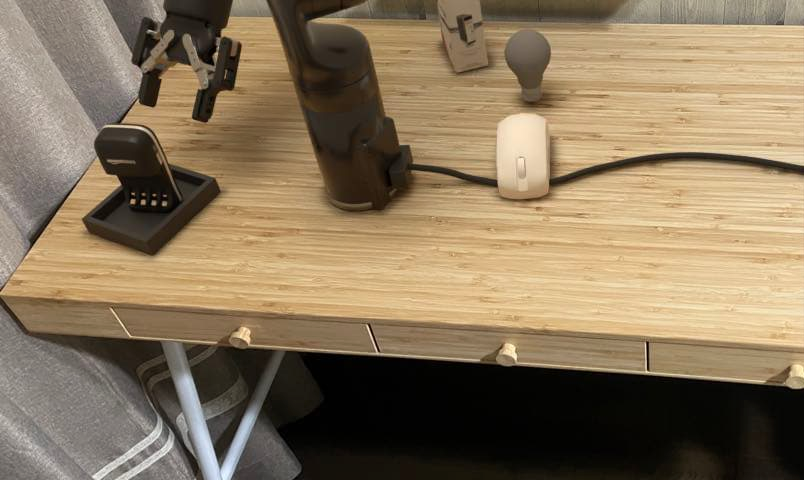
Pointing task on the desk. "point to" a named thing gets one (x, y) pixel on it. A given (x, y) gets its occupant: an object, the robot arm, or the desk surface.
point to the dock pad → (151, 213)
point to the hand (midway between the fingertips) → (172, 113)
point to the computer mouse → (523, 156)
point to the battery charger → (138, 166)
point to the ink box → (463, 33)
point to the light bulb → (528, 61)
